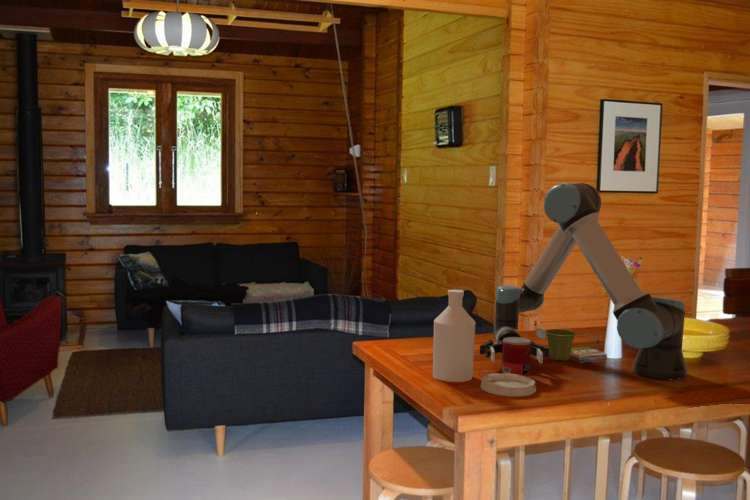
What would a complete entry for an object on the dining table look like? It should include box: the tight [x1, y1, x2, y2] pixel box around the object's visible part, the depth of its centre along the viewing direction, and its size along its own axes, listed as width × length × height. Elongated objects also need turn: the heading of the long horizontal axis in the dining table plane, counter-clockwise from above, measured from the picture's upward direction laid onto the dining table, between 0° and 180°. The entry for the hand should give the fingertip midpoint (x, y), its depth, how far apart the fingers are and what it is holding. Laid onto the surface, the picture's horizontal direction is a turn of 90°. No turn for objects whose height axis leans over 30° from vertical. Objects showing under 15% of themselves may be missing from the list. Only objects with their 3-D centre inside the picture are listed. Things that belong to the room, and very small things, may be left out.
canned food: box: [501, 337, 531, 378], centre depth 225 cm, size 8×8×11 cm
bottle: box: [432, 289, 476, 383], centre depth 222 cm, size 12×12×25 cm
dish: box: [480, 372, 537, 398], centre depth 213 cm, size 15×15×2 cm
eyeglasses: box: [534, 325, 599, 342], centre depth 278 cm, size 15×18×4 cm
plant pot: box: [545, 328, 577, 362], centre depth 248 cm, size 9×9×9 cm
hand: (517, 357), depth 221 cm, fingers open, 13 cm apart
